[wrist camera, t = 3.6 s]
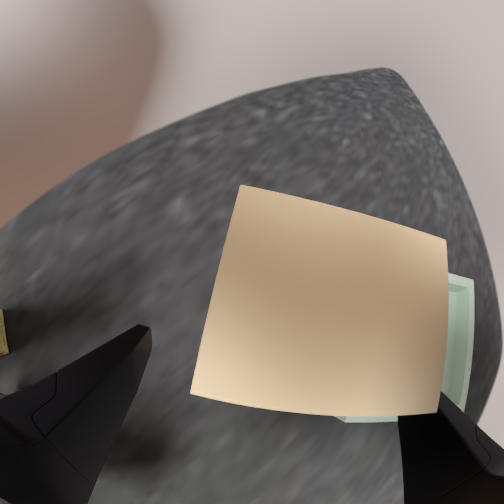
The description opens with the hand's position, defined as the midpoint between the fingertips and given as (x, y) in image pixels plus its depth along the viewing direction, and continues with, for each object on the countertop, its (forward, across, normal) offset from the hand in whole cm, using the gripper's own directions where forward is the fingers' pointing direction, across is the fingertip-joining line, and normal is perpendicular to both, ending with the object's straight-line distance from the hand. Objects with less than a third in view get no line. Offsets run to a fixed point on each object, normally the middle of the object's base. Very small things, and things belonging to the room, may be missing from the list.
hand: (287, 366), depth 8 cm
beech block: (+7, 0, +5) cm, 9 cm away
